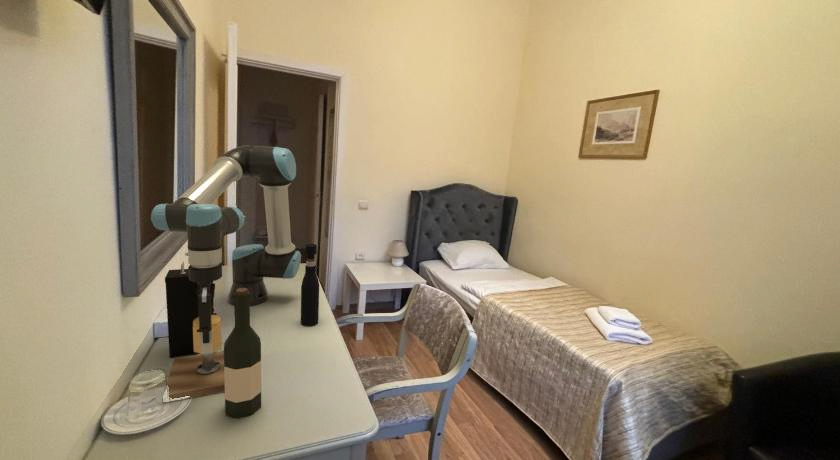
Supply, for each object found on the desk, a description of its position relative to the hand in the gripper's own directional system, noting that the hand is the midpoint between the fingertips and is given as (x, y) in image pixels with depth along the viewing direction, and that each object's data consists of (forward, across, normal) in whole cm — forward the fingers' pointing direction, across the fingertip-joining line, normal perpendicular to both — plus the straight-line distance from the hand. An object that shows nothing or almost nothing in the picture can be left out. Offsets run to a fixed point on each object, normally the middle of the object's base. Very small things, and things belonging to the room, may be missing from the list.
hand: (207, 346), depth 96 cm
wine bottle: (+9, -25, +31) cm, 41 cm away
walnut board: (+9, 0, 0) cm, 9 cm away
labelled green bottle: (+9, +17, +8) cm, 21 cm away
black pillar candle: (+9, -17, -7) cm, 21 cm away
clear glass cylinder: (+7, 0, 0) cm, 7 cm away
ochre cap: (0, 0, 0) cm, 0 cm away
